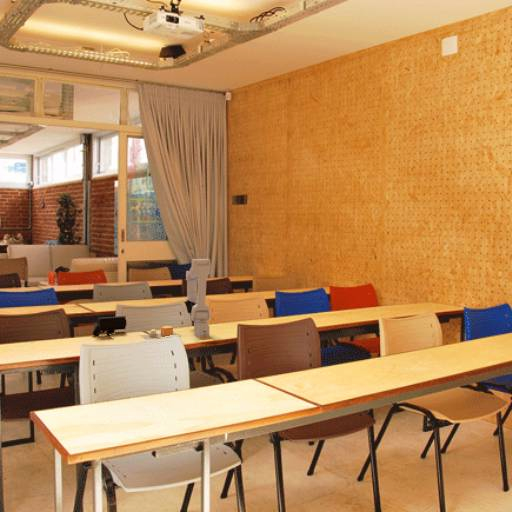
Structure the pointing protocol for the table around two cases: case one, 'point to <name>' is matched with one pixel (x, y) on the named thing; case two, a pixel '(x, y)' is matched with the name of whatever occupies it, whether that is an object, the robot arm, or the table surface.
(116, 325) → the security camera
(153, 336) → the breaker panel
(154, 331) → the button
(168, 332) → the orange block
